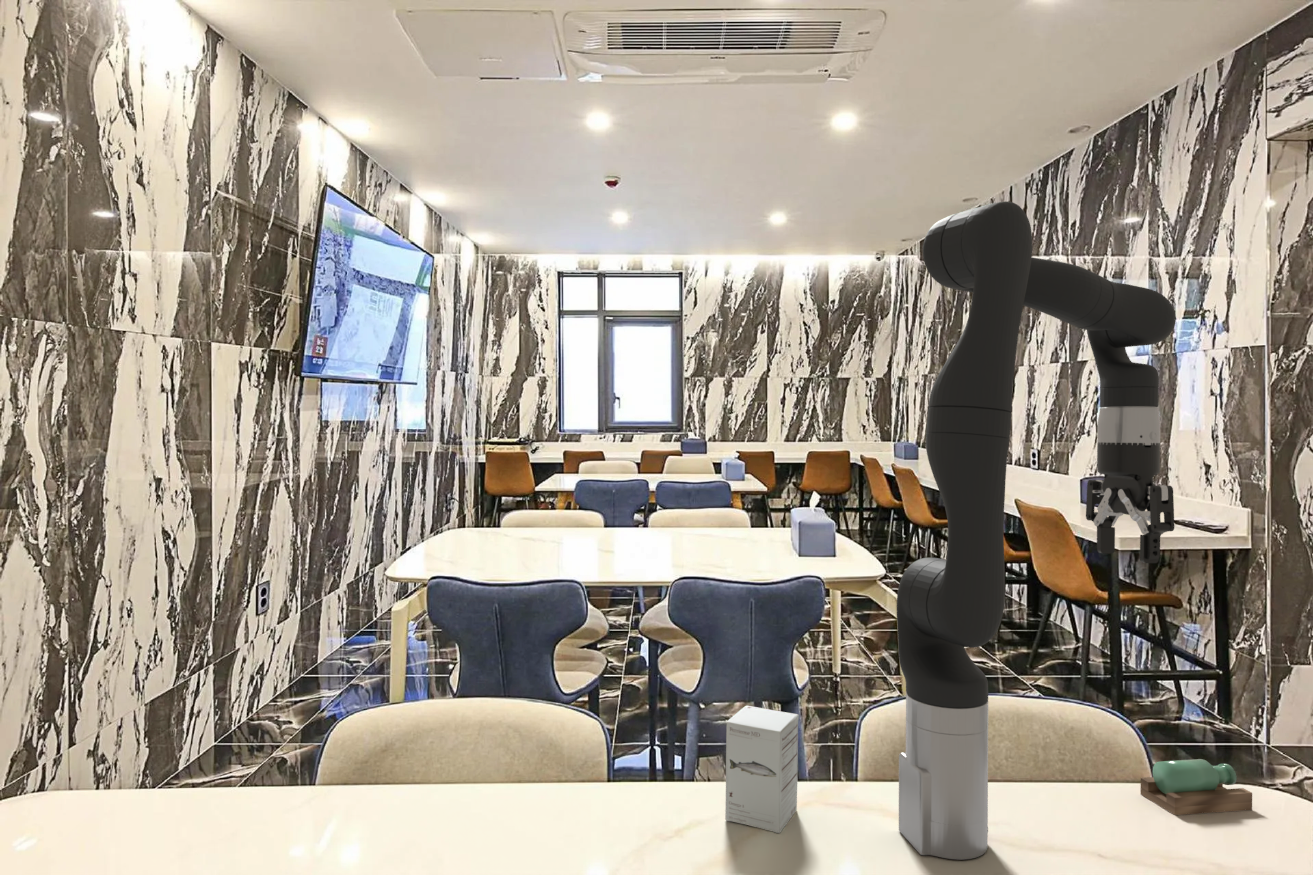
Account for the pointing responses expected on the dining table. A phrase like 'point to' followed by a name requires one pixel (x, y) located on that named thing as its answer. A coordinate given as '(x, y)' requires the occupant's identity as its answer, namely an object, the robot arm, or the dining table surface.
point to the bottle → (1191, 775)
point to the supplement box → (761, 768)
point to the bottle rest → (1198, 799)
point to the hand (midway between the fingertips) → (1126, 557)
